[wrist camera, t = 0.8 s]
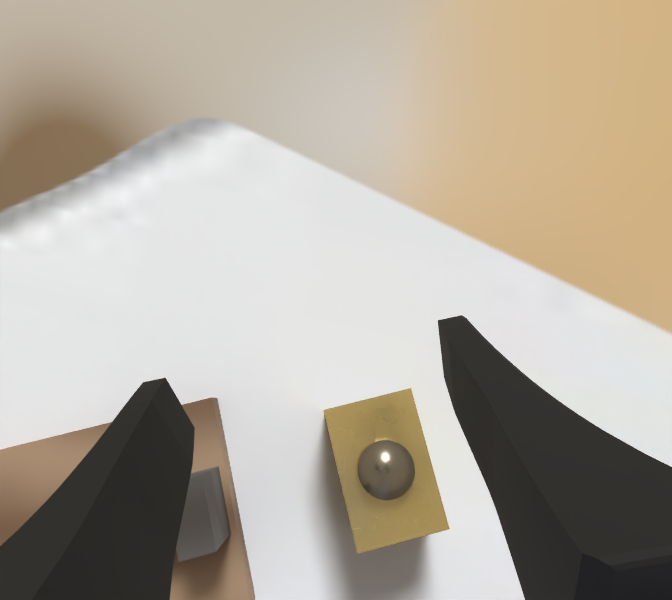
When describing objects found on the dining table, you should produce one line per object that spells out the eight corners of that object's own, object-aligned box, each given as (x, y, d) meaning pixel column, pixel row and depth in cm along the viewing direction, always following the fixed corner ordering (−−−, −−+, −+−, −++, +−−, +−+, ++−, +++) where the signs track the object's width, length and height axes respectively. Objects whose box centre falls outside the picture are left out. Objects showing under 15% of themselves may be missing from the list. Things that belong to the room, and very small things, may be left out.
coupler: (426, 506, 25) (452, 532, 20) (352, 525, 25) (358, 558, 20) (396, 392, 27) (412, 387, 21) (325, 410, 26) (323, 410, 21)
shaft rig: (255, 597, 24) (238, 637, 20) (-140, 705, 23) (-247, 772, 19) (217, 398, 26) (195, 395, 22) (-148, 487, 25) (-245, 504, 21)
